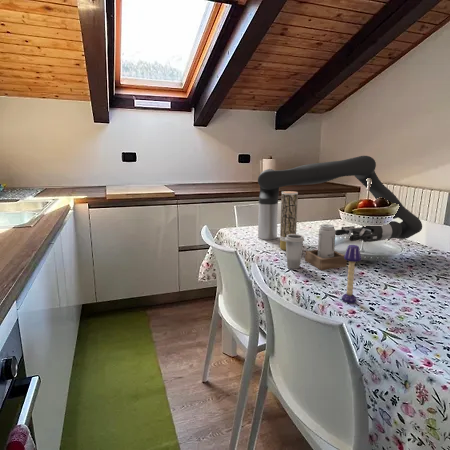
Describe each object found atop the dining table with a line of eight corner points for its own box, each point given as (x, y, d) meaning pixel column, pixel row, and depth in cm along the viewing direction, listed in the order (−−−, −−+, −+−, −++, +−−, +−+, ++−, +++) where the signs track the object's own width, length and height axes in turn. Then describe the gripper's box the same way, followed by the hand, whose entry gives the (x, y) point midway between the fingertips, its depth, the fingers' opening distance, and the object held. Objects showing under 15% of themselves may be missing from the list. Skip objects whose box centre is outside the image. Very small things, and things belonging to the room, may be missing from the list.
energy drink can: (331, 267, 128) (333, 228, 125) (315, 264, 131) (317, 226, 128) (334, 262, 133) (337, 225, 130) (319, 260, 136) (321, 223, 133)
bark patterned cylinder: (295, 251, 147) (297, 193, 142) (279, 250, 149) (281, 193, 143) (295, 247, 154) (298, 191, 148) (280, 246, 155) (282, 191, 150)
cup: (304, 264, 131) (305, 234, 128) (302, 270, 125) (303, 239, 122) (285, 262, 134) (286, 233, 131) (282, 268, 127) (283, 237, 125)
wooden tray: (305, 260, 136) (305, 251, 135) (328, 257, 139) (329, 248, 138) (321, 270, 125) (322, 259, 125) (346, 266, 129) (347, 256, 128)
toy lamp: (338, 296, 104) (342, 243, 100) (353, 296, 104) (357, 243, 100) (345, 303, 99) (349, 248, 95) (360, 303, 100) (365, 248, 96)
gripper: (364, 218, 143) (331, 222, 138) (391, 226, 130) (356, 230, 125) (363, 236, 145) (330, 240, 139) (389, 245, 131) (354, 250, 126)
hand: (342, 235), depth 132 cm, fingers open, 8 cm apart
